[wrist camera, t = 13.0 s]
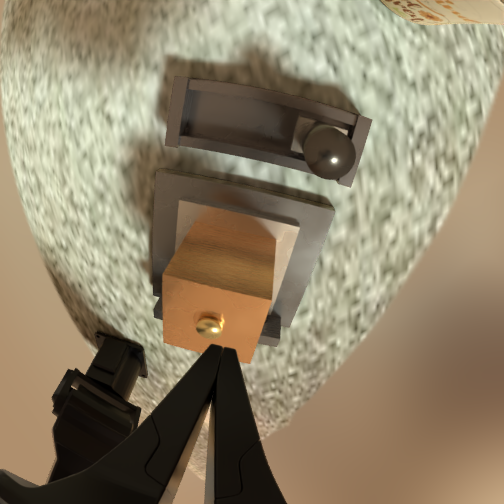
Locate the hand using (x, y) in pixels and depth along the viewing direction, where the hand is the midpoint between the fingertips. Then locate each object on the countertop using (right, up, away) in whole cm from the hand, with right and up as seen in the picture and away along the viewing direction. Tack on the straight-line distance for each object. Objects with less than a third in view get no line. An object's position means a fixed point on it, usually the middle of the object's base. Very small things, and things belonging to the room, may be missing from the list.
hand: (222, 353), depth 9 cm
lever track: (+2, +11, +7) cm, 13 cm away
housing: (-1, +2, +11) cm, 12 cm away
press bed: (-1, +3, +12) cm, 13 cm away
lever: (+5, +10, +6) cm, 13 cm away
